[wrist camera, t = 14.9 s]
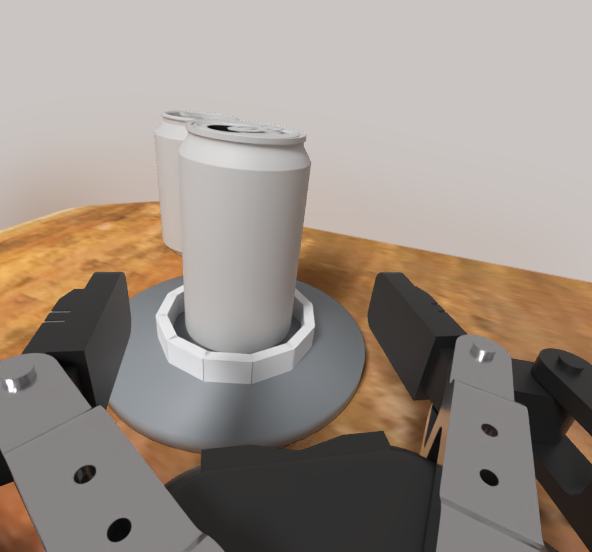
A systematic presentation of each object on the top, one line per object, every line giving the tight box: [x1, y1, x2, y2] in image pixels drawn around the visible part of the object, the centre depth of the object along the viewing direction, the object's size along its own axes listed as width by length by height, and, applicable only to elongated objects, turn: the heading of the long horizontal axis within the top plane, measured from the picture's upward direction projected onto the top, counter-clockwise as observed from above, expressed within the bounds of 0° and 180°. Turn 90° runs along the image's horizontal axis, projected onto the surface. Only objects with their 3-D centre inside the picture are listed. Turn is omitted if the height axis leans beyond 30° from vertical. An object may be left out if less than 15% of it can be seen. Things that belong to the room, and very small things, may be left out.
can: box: [154, 111, 239, 256], centre depth 33 cm, size 8×8×12 cm
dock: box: [108, 276, 365, 453], centre depth 23 cm, size 16×16×2 cm
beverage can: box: [178, 119, 311, 354], centre depth 20 cm, size 6×6×12 cm
